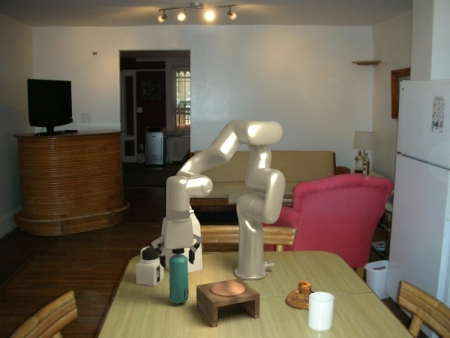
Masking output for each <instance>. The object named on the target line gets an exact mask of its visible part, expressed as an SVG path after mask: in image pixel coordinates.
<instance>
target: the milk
mask: <svg viewBox="0 0 450 338" xmlns="http://www.w3.org/2000/svg"><path fill="white" fill-rule="evenodd" d="M189 209H191V210H193V209H192V206H191V204H190V205H189ZM190 217H191V220H192V226H193V234H195V235H197V236H199V237H201V238H202V235H201V224H200V221H199V220H198V219H197V216H196V215H195V213H194V212H193V214H190ZM196 242H197V240H196V239H194V242H193V245H194V244H195V243H196ZM202 249H203V248H202V243H201V244H200V247H199V248H198V249H197V250H196V252H195V261H194V264H191V263H190V262H189V250H190V248H184V251H185V252H184V253H183V254H182V255H185V256H186V257H187V258H188V273H192V272H197V271H198V272H199V271H201V270H204V269H203V253H202V252H203V250H202ZM173 255H175V254H173V253H172V250H168V251H167V252H166V253H165V256H166V267H165V268H166V269H167V270H168V271H169V259H170V258H171V257H172V256H173Z"/></svg>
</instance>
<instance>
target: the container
mask: <svg viewBox="0 0 450 338" xmlns="http://www.w3.org/2000/svg"><path fill="white" fill-rule="evenodd" d="M164 269H165V268H163V267H162V266H161V265H160V254H159V253H158V252H156V250H155V249H154V247H153V246H145V247H142V248H141V250H140V261H138V262H137V263H135V283H136V285H142V286H149V287H156V286H157V285H159V284H160V283H161V282H162V281H163V280H164V279H165V274H164V273H165V271H164Z"/></svg>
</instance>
